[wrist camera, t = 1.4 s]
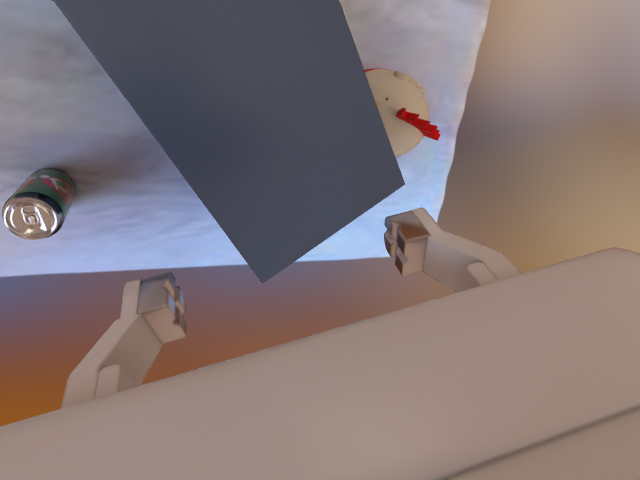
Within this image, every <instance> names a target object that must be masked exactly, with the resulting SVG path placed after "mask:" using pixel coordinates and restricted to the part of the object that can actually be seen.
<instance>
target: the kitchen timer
mask: <svg viewBox="0 0 640 480" xmlns="http://www.w3.org/2000/svg"><path fill="white" fill-rule="evenodd" d="M365 74H366V77H367V80H368V83H369V85H370V88H371V91H372V94H373V96H374V99H375V102H376V105H377V108H378V110H379V113H380V116H381V119H382V121H383V124H384V127H385V130H386V133H387V135H388V138H389V141H390V144H391V146H392V149H393V152H394V155H395V157H398V156H401V155H404V154H406V153H407V152H409V151H410V150H411V149H413V148H414V147H416V146H417V145H418V143H419V142H420V141H421V140H422V139H423V137H424V136H427V137H429V138H432V139H435V140H438V139H439V137H440V135H441V134H439V130H436V129H437V126H434V125H431V124H429V123H430V121H429V109H428V104H427V102H426V100H425V98H424V96H423V95H424V94H425V93H426V91H425V90H424V89H423V88H422V87H421V86H420V85H419V84H418V83H417V82H416V81H415V80H413V79H412V78H411V76H409V75H406V74H403V73H400V72H397V71H391V70H385V69H369V70H365Z"/></svg>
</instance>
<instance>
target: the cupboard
mask: <svg viewBox="0 0 640 480" xmlns="http://www.w3.org/2000/svg"><path fill="white" fill-rule="evenodd" d="M54 2H55V3H56V4H57V6H58V7H59V8H60V10H61V11H62V12H63V14H64V15H65V17H66V18H67V19H68V21H69V22H70V23H71V25H72V26H73V27H74V29H75V30H76V31H77V33H78V34H79V36H80V37H81V38H82V40H83V41H84V42H85V44H86V45H87V46H88V48H89V49H90V50H91V52H92V53H93V55H94V56H95V57H96V59H97V60H98V61H99V63H100V64H101V65H102V67H103V68H104V69H105V71H106V72H107V73H108V75H109V76H110V78H111V79H112V80H113V82H114V83H115V84H116V86H117V87H118V88H119V90H120V91H121V92H122V94H123V95H124V97H125V98H126V99H127V101H128V102H129V103H130V105H131V106H132V107H133V109H134V110H135V111H136V113H137V114H138V115H139V117H140V118H141V120H142V121H143V122H144V124H145V125H146V126H147V128H148V129H149V130H150V132H151V133H152V134H153V136H154V137H155V139H156V140H157V141H158V143H159V144H160V145H161V147H162V148H163V149H164V151H165V152H166V153H167V155H168V156H169V157H170V159H171V160H172V162H173V163H174V164H175V166H176V167H177V168H178V170H179V171H180V172H181V174H182V175H183V176H184V178H185V179H186V181H187V182H188V183H189V185H190V186H191V187H192V189H193V190H194V191H195V193H196V194H197V195H198V197H199V198H200V200H201V201H202V202H203V204H204V205H205V206H206V208H207V209H208V210H209V212H210V213H211V214H212V216H213V217H214V218H215V220H216V221H217V223H218V224H219V225H220V227H221V228H222V229H223V231H224V232H225V233H226V235H227V236H228V237H229V239H230V240H231V242H232V243H233V244H234V246H235V247H236V248H237V250H238V251H239V252H240V254H241V255H242V256H243V258H244V259H245V260H246V262H247V263H248V265H249V266H250V267H251V269H252V270H253V271H254V273H255V274H256V275H257V277H258V278H259V279H260V281H261V282H262V283H264V282H265V281H267V280H268V279H270V278H271V277H273V276H274V275H276V274H277V273H278V272H280V271H281V270H283V269H284V268H285V267H287V266H288V265H290V264H291V263H293V262H294V261H296V260H297V259H299V258H300V257H301V256H303V255H304V254H306V253H307V252H309V251H310V250H311V249H313V248H314V247H316V246H317V245H319V244H320V243H321V242H323V241H324V240H326V239H327V238H329V237H330V236H332V235H333V234H334V233H336V232H337V231H339V230H340V229H342V228H343V227H344V226H346V225H347V224H349V223H350V222H352V221H353V220H354V219H356V218H357V217H359V216H360V215H362V214H363V213H364V212H366V211H367V210H369V209H370V208H372V207H373V206H375V205H376V204H377V203H379V202H380V201H382V200H383V199H385V198H386V197H387V196H389V195H390V194H392V193H393V192H395V191H396V190H397V189H399V188H400V187H402V186H403V185H405V183H404V180H403V177H402V174H401V172H400V169H399V166H398V163H397V160H396V158H395V155H394V152H393V149H392V146H391V144H390V141H389V138H388V135H387V133H386V130H385V127H384V124H383V121H382V119H381V116H380V113H379V110H378V108H377V105H376V102H375V99H374V96H373V94H372V91H371V88H370V85H369V83H368V80H367V77H366V74H365V71H364V69H363V66H362V63H361V60H360V57H359V55H358V52H357V49H356V46H355V44H354V41H353V38H352V35H351V32H350V30H349V27H348V24H347V21H346V19H345V16H344V13H343V10H342V7H341V5H340V2H339V0H54Z"/></svg>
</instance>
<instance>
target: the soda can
mask: <svg viewBox="0 0 640 480" xmlns="http://www.w3.org/2000/svg"><path fill="white" fill-rule="evenodd" d="M75 195H76V187H75V184H74V182H73V181H72V179H71V178H70V177H69V176H68V175H66V174H65V173H63V172H61V171H58V170H55V169H42V170H39V171H36V172H35V173H33V174H32V175H31V176H30V177H29V178H28V179H27V180H26V181H25V182H24V183H23V184H22V185H21V186H20V187H19V188H18V190H17V191H16V192H15V193H14V194H13V195H12V196H11V197H10V198H9V199H8V200H7V201H6V203H5V204H4V206H3V210H2V217H3V220H4V222H5V224H6V226H7V227H8V229H9V230H10V231H11V232H12V233H14V234H15V235H17V236H19V237H22V238H25V239H32V240H34V239H43V238H47V237H50V236H52V235H54V234H55V233H56V232H58V231H59V229H60V228H61V226H62V224H63V222H64V220H65V218H66V216H67V213H68V211H69V209H70V207H71V204H72V202H73V200H74V198H75Z"/></svg>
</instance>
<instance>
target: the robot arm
mask: <svg viewBox="0 0 640 480" xmlns="http://www.w3.org/2000/svg"><path fill="white" fill-rule="evenodd" d="M385 227H386V228H387V231H386V232H385V234H384V241H385V246H386V249H387V251H388V253H389V255H390V256H391V257H393V258H395V265H396V267H397V268H398V270H399V271H400V273H401V275H402V276H405V275H408V274H412V273H416V272H420V271H423V272H424V273H425V274H427V275H429V276H430V277H432V278H434V279H435V280H437V281H438V282H440V283H442V284H443V285H445V286H446V287H448V288H450V289H451V290H453V291H455V292H456V293H455V294H451V295H448V296H444V297H441V298H438V299H434V300H431V301H427V302H424V303H421V304H417V305H414V306H410V307H407V308H403V309H400V310H396V311H394V312H390V313H387V314H383V315H379V316H376V317H373V318H369V319H366V320H362V321H359V322H355V323H352V324H349V325H345V326H342V327H339V328H335V329H332V330H328V331H325V332H322V333H318V334H315V335H311V336H308V337H304V338H301V339H298V340H294V341H291V342H287V343H284V344H281V345H277V346H274V347H270V348H267V349H264V350H260V351H257V352H253V353H250V354H247V355H243V356H240V357H236V358H233V359H230V360H226V361H223V362H219V363H216V364H213V365H210V366H206V367H202V368H199V369H196V370H192V371H189V372H185V373H182V374H178V375H175V376H172V377H168V378H165V379H161V380H158V381H155V382H152V383H148V384H144V385H141V383H142V381H143V379H144V377H145V376H146V374H147V372H148V370H149V369H150V367H151V365H152V363H153V361H154V360H155V358H156V356H157V354H158V353H159V350H160V349H161V347H162V344H164V343H167V342H170V341H173V340H177V339H180V338H183V337H186V321H185V319H184V317H183V315H184V313H185V312H186V307H185V300H184V296H183V293H182V291H181V289H180V287H178V286H176V285H175V278H174V276H173V274H172V273H171V272H169V273H165V274H160V275H155V276H151V277H147V278H142V279H140V280H136V281H131V282H127V283H126V285H125V287H124V294H123V301H122V308H121V315H120V319H118V320H116V321H115V322H114V323H113V324H112V325H111V326H110V328H109V329H108V330H107V331H106V332H105V333H104V335H103V336H102V337H101V338H100V340H99V341H98V342H97V343H96V344H95V345H94V347H93V348H92V349H91V350H90V351H89V353H88V354H87V355H86V356H85V357H84V358H83V360H82V361H81V362H80V363H79V365H78V366H77V367H76V368H75V369H74V370H73V372H72V373H71V374H70V375H69V377H68V381H67V385H66V389H65V394H64V398H63V402H62V406H61V409H59V410H56V411H52V412H49V413H46V414H42V415H39V416H35V417H32V418H29V419H25V420H22V421H18V422H15V423H12V424H8V425H5V426H2V427H0V480H640V253H636V252H633V251H630V250H626V249H622V248H608V249H604V250H600V251H597V252H594V253H590V254H587V255H584V256H581V257H577V258H574V259H571V260H567V261H563V262H560V263H557V264H553V265H550V266H546V267H543V268H539V269H537V270H533V271H530V272H526V273H521V272H520V271H519V270H518V269H517V268H516V267H515V266H514V264H513V263H512V262H511V261H510V260H509V259H508V258H507V257H506V256H505V255H504V254H503V253H500V252H498V251H495V250H493V249H490V248H488V247H485V246H482V245H480V244H478V243H475V242H473V241H470V240H468V239H465V238H462V237H460V236H457V235H455V234H452V233H450V232H443V230H442V229H441V228H440V227H439V226H438V224H437V223H436V222H435V221H434V219H433V218H432V217H431V216H430V215H429V213H428V212H427V211H426V210H425V209H424V208H418V209H415V210H411V211H408V212H404V213H400V214H396V215H392V216H389V217H386V219H385ZM140 385H141V386H140Z"/></svg>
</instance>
